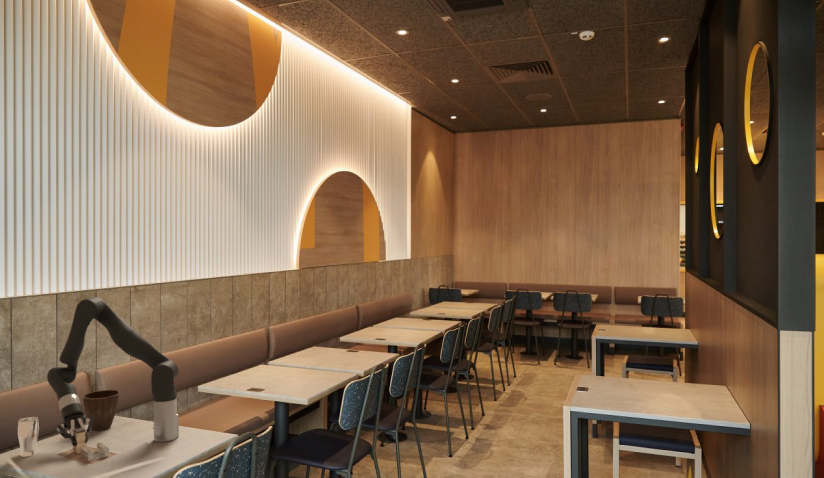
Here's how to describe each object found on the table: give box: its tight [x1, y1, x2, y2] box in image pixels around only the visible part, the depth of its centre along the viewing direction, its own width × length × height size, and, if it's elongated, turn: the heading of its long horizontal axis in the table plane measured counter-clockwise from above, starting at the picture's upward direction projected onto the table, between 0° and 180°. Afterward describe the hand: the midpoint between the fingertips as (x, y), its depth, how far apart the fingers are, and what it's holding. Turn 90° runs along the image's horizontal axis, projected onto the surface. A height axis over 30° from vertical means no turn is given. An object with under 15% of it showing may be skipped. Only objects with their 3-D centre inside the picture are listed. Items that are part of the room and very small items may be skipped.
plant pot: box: [82, 389, 121, 432], centre depth 253 cm, size 15×15×16 cm
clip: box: [80, 442, 110, 462], centre depth 217 cm, size 9×7×3 cm
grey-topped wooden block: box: [72, 427, 86, 454], centre depth 222 cm, size 5×3×9 cm, turn 48°
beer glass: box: [17, 416, 40, 458], centre depth 221 cm, size 7×7×15 cm
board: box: [56, 445, 117, 465], centre depth 220 cm, size 11×22×1 cm, turn 63°
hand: (80, 444), depth 221 cm, fingers closed on grey-topped wooden block, 3 cm apart
